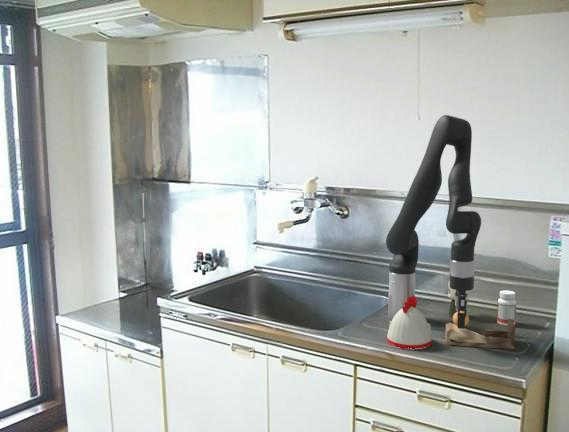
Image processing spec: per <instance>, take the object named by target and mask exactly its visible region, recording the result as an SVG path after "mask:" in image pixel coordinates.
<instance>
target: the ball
mask: <svg viewBox="0 0 569 432" xmlns="http://www.w3.org/2000/svg"><path fill="white" fill-rule="evenodd" d="M460 313H464V312H463V311H460ZM457 321H458V317H457V312H456V313H455V314H454V316H452V322H453V324H455V325H457ZM469 321H470V317H469V315H468V313H466V317H465V326H467V325H468V324H469Z"/></svg>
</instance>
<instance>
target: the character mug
mask: <svg viewBox="0 0 569 432" xmlns="http://www.w3.org/2000/svg"><path fill="white" fill-rule="evenodd" d="M449 281H450V279H449V280H448V282H449ZM469 292H470V290H467V291H466V293H467V295H468V296H469ZM455 293H456V290H454V289H451V288H450V287H449V286H448V292H447V294H448V295H447V296H448V298H449V299H451V301H450V304H449V309H448V315H449V316H450V317H453V316H454V314H455V313H456V312H457V311H456V306H455ZM463 312H464V311H463ZM467 312H468V311H467V310H466V313H467ZM467 314H468V313H467Z"/></svg>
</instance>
